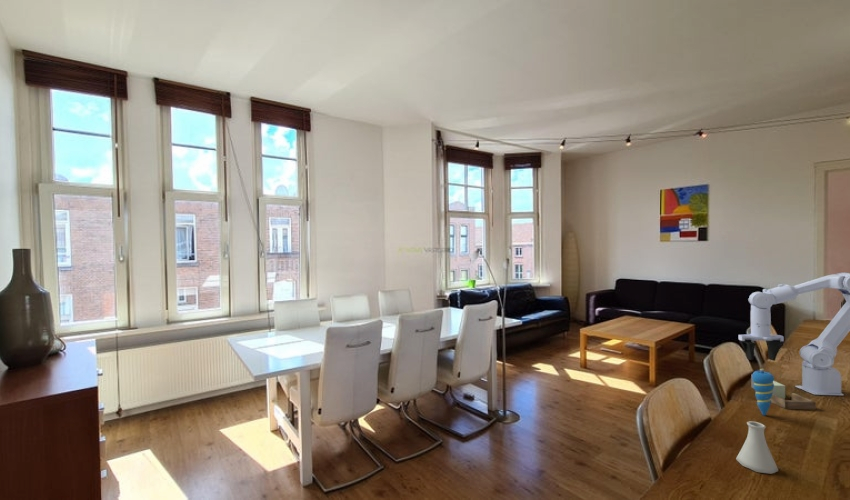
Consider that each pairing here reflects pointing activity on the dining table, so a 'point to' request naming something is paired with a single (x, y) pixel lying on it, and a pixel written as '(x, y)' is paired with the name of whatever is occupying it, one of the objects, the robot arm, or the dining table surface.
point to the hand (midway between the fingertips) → (760, 359)
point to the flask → (756, 451)
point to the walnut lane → (794, 402)
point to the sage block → (775, 389)
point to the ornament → (763, 389)
